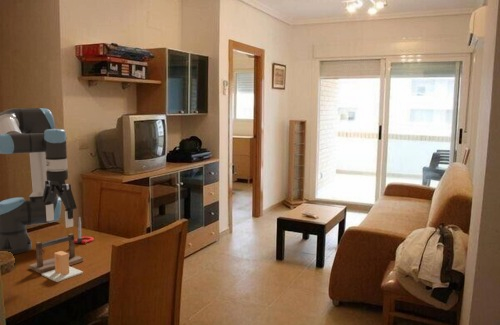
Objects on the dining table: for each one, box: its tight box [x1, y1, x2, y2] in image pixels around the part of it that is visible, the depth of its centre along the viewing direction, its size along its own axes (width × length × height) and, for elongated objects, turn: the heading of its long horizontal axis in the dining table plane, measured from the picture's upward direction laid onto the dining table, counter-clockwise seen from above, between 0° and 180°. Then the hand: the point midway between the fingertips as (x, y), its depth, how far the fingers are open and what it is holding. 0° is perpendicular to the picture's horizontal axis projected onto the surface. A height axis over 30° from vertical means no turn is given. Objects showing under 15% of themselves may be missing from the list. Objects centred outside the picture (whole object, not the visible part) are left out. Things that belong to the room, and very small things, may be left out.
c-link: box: [53, 250, 69, 275], centre depth 170 cm, size 5×3×8 cm, turn 54°
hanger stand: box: [28, 232, 84, 275], centre depth 179 cm, size 10×18×12 cm, turn 144°
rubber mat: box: [41, 265, 84, 283], centre depth 170 cm, size 11×11×1 cm
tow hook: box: [74, 216, 95, 245], centre depth 211 cm, size 8×13×9 cm
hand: (59, 223), depth 168 cm, fingers open, 13 cm apart
